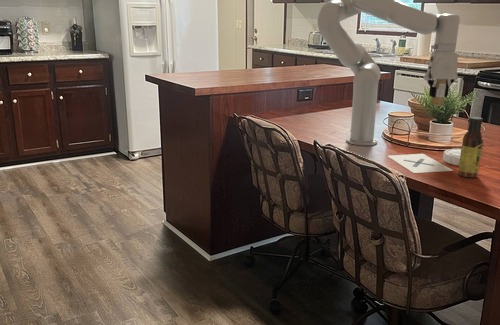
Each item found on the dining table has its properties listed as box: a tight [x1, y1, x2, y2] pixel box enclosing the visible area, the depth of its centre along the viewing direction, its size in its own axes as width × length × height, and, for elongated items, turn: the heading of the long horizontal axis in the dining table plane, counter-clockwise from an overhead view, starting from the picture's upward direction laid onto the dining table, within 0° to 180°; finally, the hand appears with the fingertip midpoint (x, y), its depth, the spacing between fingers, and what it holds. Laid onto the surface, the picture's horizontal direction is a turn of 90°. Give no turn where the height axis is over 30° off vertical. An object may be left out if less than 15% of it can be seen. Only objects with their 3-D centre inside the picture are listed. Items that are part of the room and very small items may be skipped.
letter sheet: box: [387, 153, 454, 174], centre depth 177 cm, size 20×15×1 cm
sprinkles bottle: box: [430, 79, 447, 106], centre depth 187 cm, size 5×5×14 cm
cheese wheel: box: [442, 148, 461, 166], centre depth 179 cm, size 12×12×4 cm
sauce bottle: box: [458, 116, 484, 179], centre depth 162 cm, size 6×6×20 cm
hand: (438, 96), depth 188 cm, fingers closed on sprinkles bottle, 4 cm apart
